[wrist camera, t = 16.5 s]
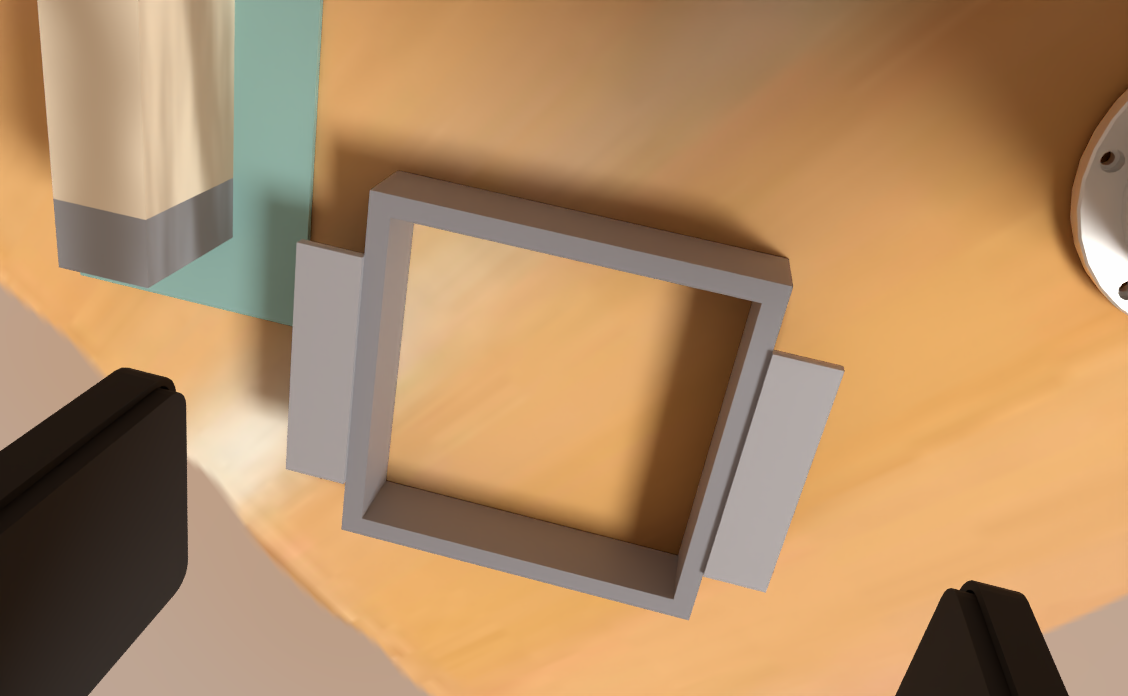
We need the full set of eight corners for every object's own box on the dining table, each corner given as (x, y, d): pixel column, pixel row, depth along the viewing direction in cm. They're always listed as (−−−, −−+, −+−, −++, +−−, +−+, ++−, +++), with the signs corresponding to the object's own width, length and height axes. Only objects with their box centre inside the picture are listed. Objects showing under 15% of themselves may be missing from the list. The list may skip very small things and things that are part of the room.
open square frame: (856, 274, 39) (867, 305, 36) (748, 589, 47) (749, 639, 44) (335, 156, 41) (299, 176, 38) (314, 477, 49) (283, 517, 46)
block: (235, -27, 39) (137, -19, 32) (232, 237, 44) (147, 288, 38) (147, -45, 39) (33, -40, 33) (155, 219, 44) (58, 267, 38)
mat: (329, -114, 37) (326, -114, 36) (305, 326, 45) (302, 328, 45) (56, -168, 38) (51, -169, 37) (84, 272, 46) (80, 274, 46)
